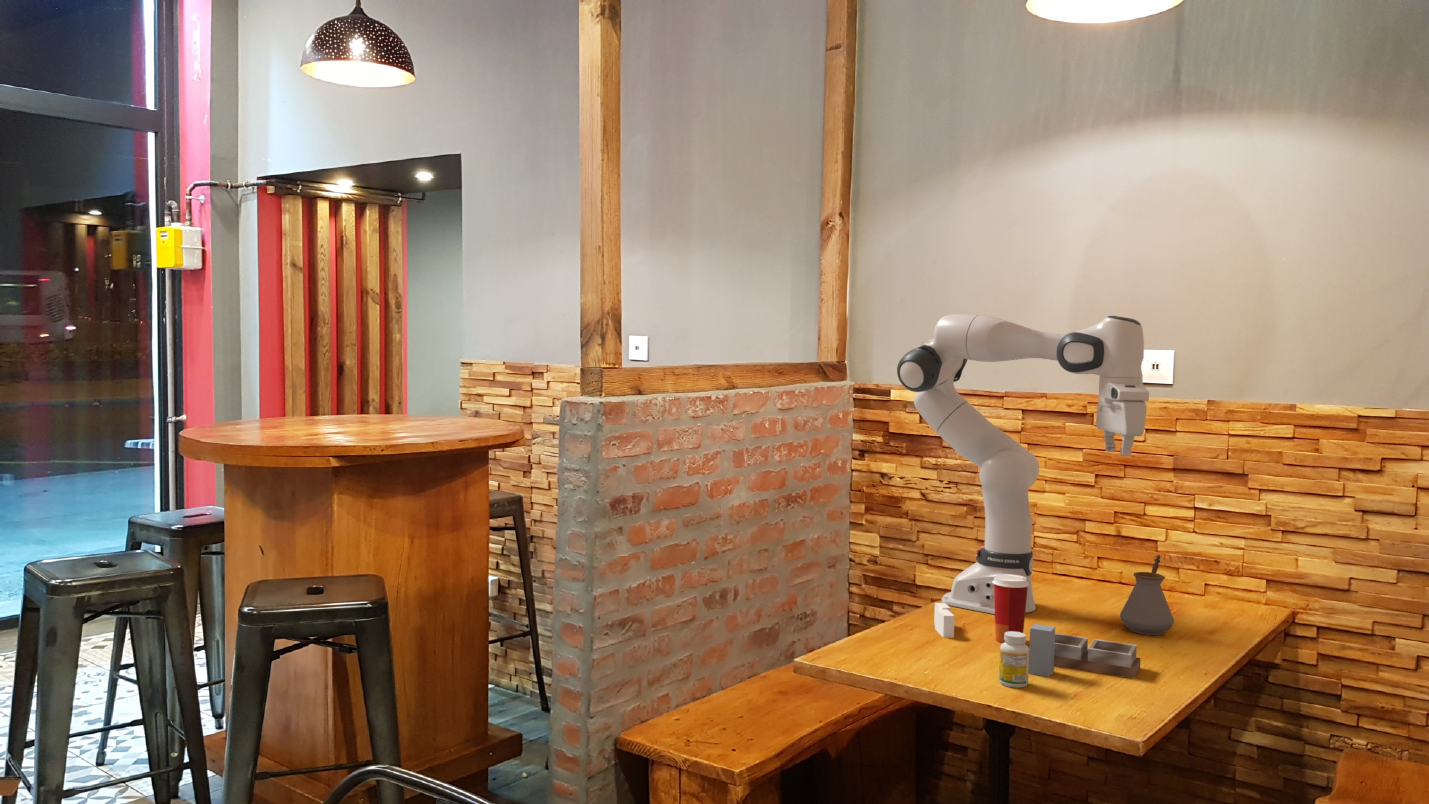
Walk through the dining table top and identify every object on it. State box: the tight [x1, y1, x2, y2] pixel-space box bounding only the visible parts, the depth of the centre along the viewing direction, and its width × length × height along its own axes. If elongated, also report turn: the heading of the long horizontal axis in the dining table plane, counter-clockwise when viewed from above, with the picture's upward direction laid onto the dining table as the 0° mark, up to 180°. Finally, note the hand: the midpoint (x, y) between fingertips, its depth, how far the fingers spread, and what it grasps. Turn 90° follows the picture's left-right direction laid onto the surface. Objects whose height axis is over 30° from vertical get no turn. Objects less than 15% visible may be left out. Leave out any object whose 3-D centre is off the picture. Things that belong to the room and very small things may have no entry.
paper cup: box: [992, 574, 1029, 644], centre depth 229 cm, size 8×8×14 cm
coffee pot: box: [1119, 554, 1175, 636], centre depth 243 cm, size 21×12×15 cm, turn 149°
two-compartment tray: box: [1054, 632, 1142, 679], centre depth 212 cm, size 19×8×4 cm, turn 61°
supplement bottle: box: [998, 631, 1029, 689], centre depth 200 cm, size 5×5×10 cm
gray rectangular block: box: [1028, 623, 1056, 678], centre depth 207 cm, size 4×4×9 cm
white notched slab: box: [933, 602, 955, 639], centre depth 237 cm, size 15×11×6 cm
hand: (1117, 453), depth 230 cm, fingers open, 8 cm apart
